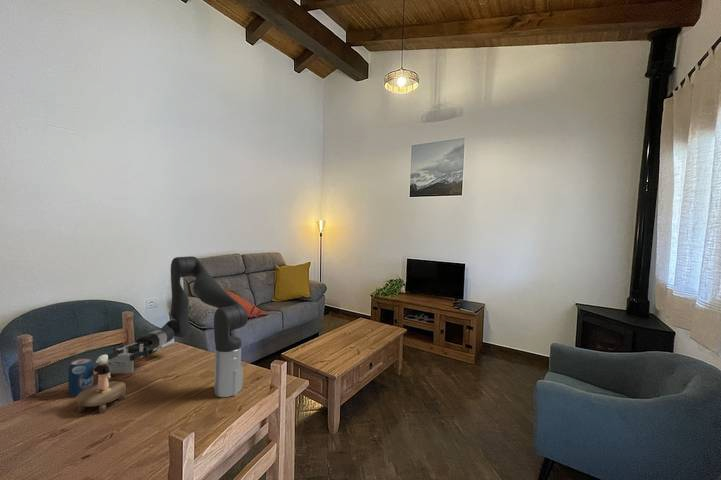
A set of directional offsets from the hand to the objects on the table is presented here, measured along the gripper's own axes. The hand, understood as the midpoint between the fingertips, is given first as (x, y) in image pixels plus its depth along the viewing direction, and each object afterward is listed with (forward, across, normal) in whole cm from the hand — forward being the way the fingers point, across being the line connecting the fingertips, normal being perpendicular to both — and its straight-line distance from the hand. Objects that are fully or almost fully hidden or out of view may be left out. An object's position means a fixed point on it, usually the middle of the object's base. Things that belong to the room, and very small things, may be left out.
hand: (119, 357), depth 113 cm
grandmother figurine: (+7, 0, +9) cm, 11 cm away
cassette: (-15, -14, +14) cm, 25 cm away
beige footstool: (+7, 0, +14) cm, 15 cm away
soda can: (+1, -14, +14) cm, 20 cm away
